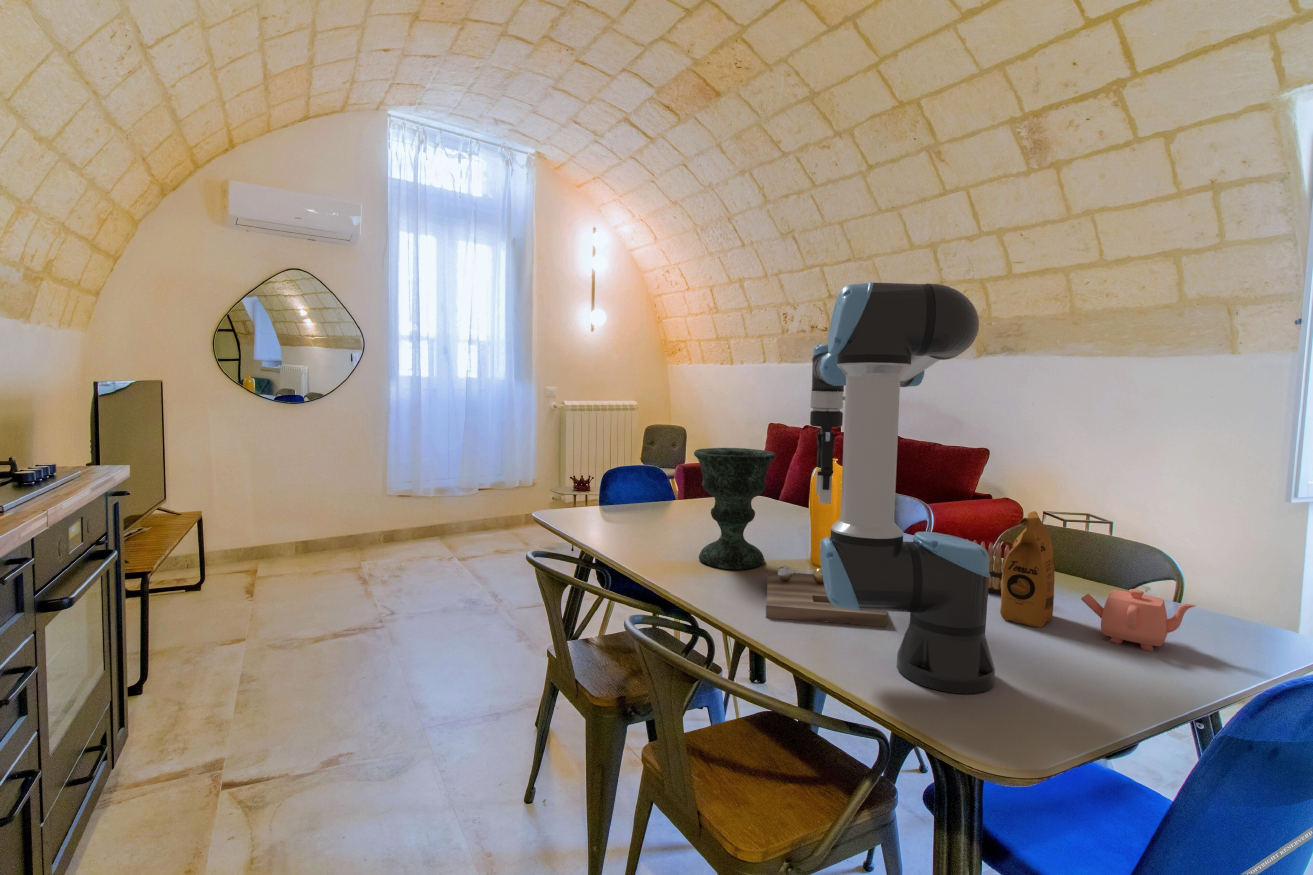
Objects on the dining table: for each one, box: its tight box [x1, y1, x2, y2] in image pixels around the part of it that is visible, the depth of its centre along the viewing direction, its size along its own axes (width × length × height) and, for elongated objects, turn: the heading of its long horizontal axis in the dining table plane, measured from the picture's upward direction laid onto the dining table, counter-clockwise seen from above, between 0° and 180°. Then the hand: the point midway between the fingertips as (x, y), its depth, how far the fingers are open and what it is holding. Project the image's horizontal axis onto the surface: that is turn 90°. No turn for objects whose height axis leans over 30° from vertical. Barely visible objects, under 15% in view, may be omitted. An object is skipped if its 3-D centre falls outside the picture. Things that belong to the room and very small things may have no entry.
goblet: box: [693, 447, 777, 571], centre depth 181 cm, size 22×23×30 cm
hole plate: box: [765, 570, 888, 628], centre depth 149 cm, size 26×24×2 cm
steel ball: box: [777, 565, 794, 581], centre depth 156 cm, size 4×4×4 cm
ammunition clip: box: [966, 538, 1010, 596], centre depth 159 cm, size 11×2×12 cm, turn 52°
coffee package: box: [999, 511, 1055, 629], centre depth 141 cm, size 10×12×22 cm
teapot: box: [1080, 588, 1198, 652], centre depth 129 cm, size 14×12×10 cm
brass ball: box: [812, 567, 824, 583], centre depth 155 cm, size 4×4×4 cm
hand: (823, 498), depth 161 cm, fingers open, 12 cm apart
